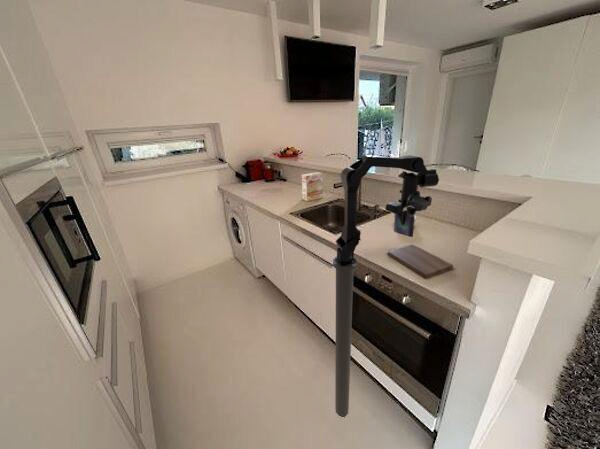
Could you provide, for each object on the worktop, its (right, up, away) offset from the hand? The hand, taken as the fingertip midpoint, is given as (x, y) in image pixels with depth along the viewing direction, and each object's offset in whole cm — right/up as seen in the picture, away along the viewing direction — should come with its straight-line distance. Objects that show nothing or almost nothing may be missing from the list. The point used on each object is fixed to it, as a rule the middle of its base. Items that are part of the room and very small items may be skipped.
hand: (405, 224), depth 104 cm
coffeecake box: (-35, +20, +89) cm, 97 cm away
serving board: (+4, -15, -4) cm, 16 cm away
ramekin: (+13, -1, +31) cm, 33 cm away
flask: (0, -4, +2) cm, 5 cm away
